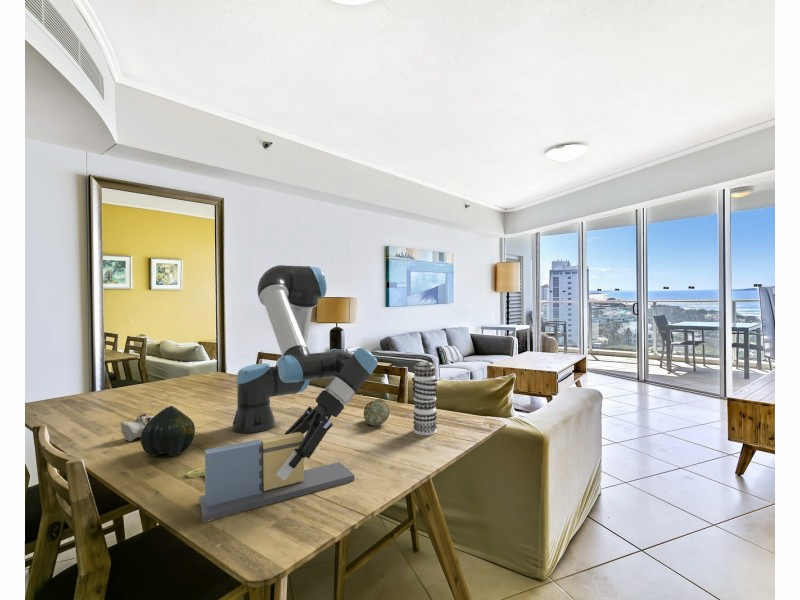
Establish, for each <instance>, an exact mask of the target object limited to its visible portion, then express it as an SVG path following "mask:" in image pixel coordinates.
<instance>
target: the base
mask: <svg viewBox="0 0 800 600" xmlns="http://www.w3.org/2000/svg"><path fill="white" fill-rule="evenodd" d="M351 482H355V474H354V473H353V472H352V471H351V470H350V469H348V468H347V467H346V466H345V465H344V464H342V463H341V462H340V461H337V462H333V463H329V464H324V465H321V466H317V467H312V468H308V469H304V481H301V482H297V483H293V484H289V485H285V486H281V487H278V488H274V489H270V490H266V491H264V490H263V489H262V493H259V494H255V495H252V496H248V497H244V498H240V499H236V500H232V501H229V502H225V503H221V504H217V505H213V506H209V507H207V506H206V502H205V494H203V495H199V496H198V498H199V499H198V503H199V502H200V504H199V508H200V507H201V509H200V513H202V514H201V517H202V518H203V519H202V522H204V523H206V522H205V521H207V522H209V521H208V520H211V521H213V520H212V519H215V520H217V519H216V518H218V519H221V518H220V517H222V518H225V517H228V515H229V516H231V515H232V514H233V515H236V514H239V512H240V513H243V512H246V510H247V511H249V510H250V509H251V510H254V509H257V507H258V508H261V507H264V505H265V506H269V505H272V504H275V502H276V503H279V502H283V501H286V500H290V499H294V498H298V497H301V496H304V495H308V494H311V493H314V492H317V491H318V492H319V491H322V490H325V489H329V488H332V487H336V486H340V485H344V484H347V483H351ZM268 504H269V505H268ZM253 508H254V509H253ZM251 510H250V511H251ZM242 511H243V512H242ZM235 513H236V514H235ZM224 516H225V517H224Z"/></svg>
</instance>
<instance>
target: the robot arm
mask: <svg viewBox="0 0 800 600" xmlns="http://www.w3.org/2000/svg"><path fill="white" fill-rule="evenodd" d="M256 292H257V296H258V299H259V301H260V303H261V305H263V306H264V307H265V310H266V312H267V316H268V319H269V321H270V323H271V327H272V330H273V333H274V335H275V338H276V342H277V345H278V347H279V350H280V353H281V356H280V357H279V358H278V359H277V360H276V364H275V366H270V363H264V362H263V363H257V364H251V365H248V366H244V367H242V368H240V369H239V370H238V372H237V378H236V379H237V380H236V384H237V385H236V389H237V396H236V397H237V402H236V403H237V407H236V408H237V409H236V412H235V415H234V418H233V421H232V430H233V432H234V433H235V432H236V433H240V434H251V433H253V434H254V433H260V432H264V431H267V430H270V429H272V428H274V426H275V425H276V424H275V423H276V419H275V415H274V413H273V410H272V407H271V398H275V397H279V396H280V397H281V396H286V395H296V394H298V393H302V392H305V391H306V390H307V389H308V386H309V384H310V381H311V380H320V379H321V380H322V379H328V378H331V380H330V381H329V382H328V383H327V384H326V386H325V389H323V390H322V391H321V392H320V393H319V395H318V396H316V398H315V403H317V405H316V406H314V407H313V408H312V407H311V406H308V407H307V409H306V410H305V411H304V413H302V415H301V416H300V417H299V418H298V419H297V420H296V421H295V422H293V424H292V425H291V426H290V427H289V428H288V430H286V431H285V432H284V433H283V435H286V434H291V433H296V432H301V433H302V434H303V435H304V434H305V435H304V439H303V441H302V442H301V444H300V446H299V448H298V449H295V450H294V452H293V453H292V454H291V456H290V457H289V458H288V459H287V460H286V462H285V463H284V464H283V465H282V467H281V468H280V469H279V470H278V472H277V473H276V475H277V476H278V477H280V478H281V479H283V480H284V481H285V480H286V479H287V477H288V476H289V475H290V474H291V472H292V471H293V470H294V469H295V467H296V466H297V465H298V463H299V462H300V461H301V460H302V458H304V459H305V458H307V459H309V458H311V456H312V455H313V454H314V452H315V450H316V449H317V447H318V446H319V445H320V443H321V442H322V440H323V438H324V437H325V435H326V434H327V432H328V431H329V430H330V429H331V428H332V427H333V425H334V424H333V422H331V418H332V416H333V418H337V417H338V416H339V415H340V414H341V412H342V411H343V410H344V409H345V406H344V405H348V404H349V402H350V401H351V400H353V397H354V396H355V394H356V393H357V392H358V391H359V390H360V389H361V387H362V386H363V385H364V384H365V383H366V381H367V380H368V379H369V378H370V377H371V375H372V374H373V373H374V371H375V369H376V368H377V367H378V364H379V362H378V359H377V357H376V356H375V355H374V354H373V353H372V352H370V351H369V350H367V349H366V348H365V347H359V348H357V349H356V350H355V351H353V353H350V352H349V351H345V350H344V349H341V348H340V349H337V348H332V349H330V350H328V351H326V352H313V353H310V350H309V348H308V346H307V341H308V335H309V330H310V326H311V325H310V324H311V318H312V312H313V308H315V307H317V306H318V303H319V300H321V299H323V298H324V297H325V296H326V293H327V279H326V276H325V274H324V272H323V270H322V268H320V267H316V266H310V265H308V266H306V265H303V266H302V265H284V264H283V265H282V264H281V265H279V264H278V265H274V266H272V267H270V268H269V269H267V270H266V271H265V272H264V273H263V274H262V276H261V277H260V279H259V281H258V284H257V291H256Z"/></svg>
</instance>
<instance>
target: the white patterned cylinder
mask: <svg viewBox="0 0 800 600" xmlns="http://www.w3.org/2000/svg"><path fill="white" fill-rule="evenodd" d="M413 369H414V370H413V372H414V374H413V377H412V378H411V380H412V382H413V383H411V384H412V391H413V393H412V397H413V401H414V408H413V415H414V416H413V419H414V420H413V433H414V434H416V435H420V436H431V435H435V434H436V433H437V432H438V431H437V429H438V428H437V426H438V425H437V424H438V421H437V417H438V416H437V407H436V401H437V397H436V396H437V391H438V389H437V388H436V386H438V383H437V381H438V378H436V366H434V365H433V363H432V362H431V361H419V362H416V363H415V365H414V366H413Z"/></svg>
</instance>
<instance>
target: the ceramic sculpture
mask: <svg viewBox="0 0 800 600" xmlns="http://www.w3.org/2000/svg"><path fill="white" fill-rule="evenodd" d="M154 416H155V415H148V416H147V414H146V413H142V414H140V415H139V416H137V417H136V418H135V420H133V421H120V430H121V431H120V432H121V434H122V435H123V437H124V440H128V441H127V442H133V441H134V440H135V439H137V438H141V434H142V431H143V429H144V427H145V426H146V424H147V423H148V422H149V421H150V420H151V419H152V418H153V417H154Z"/></svg>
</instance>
